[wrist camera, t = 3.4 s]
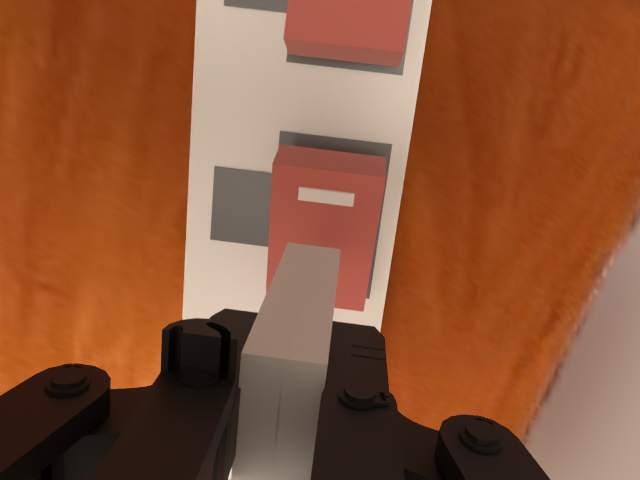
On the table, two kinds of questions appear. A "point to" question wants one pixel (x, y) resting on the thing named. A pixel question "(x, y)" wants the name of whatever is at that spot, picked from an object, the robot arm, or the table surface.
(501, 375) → the table surface
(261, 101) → the rocker switch panel
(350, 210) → the block
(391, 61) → the block
